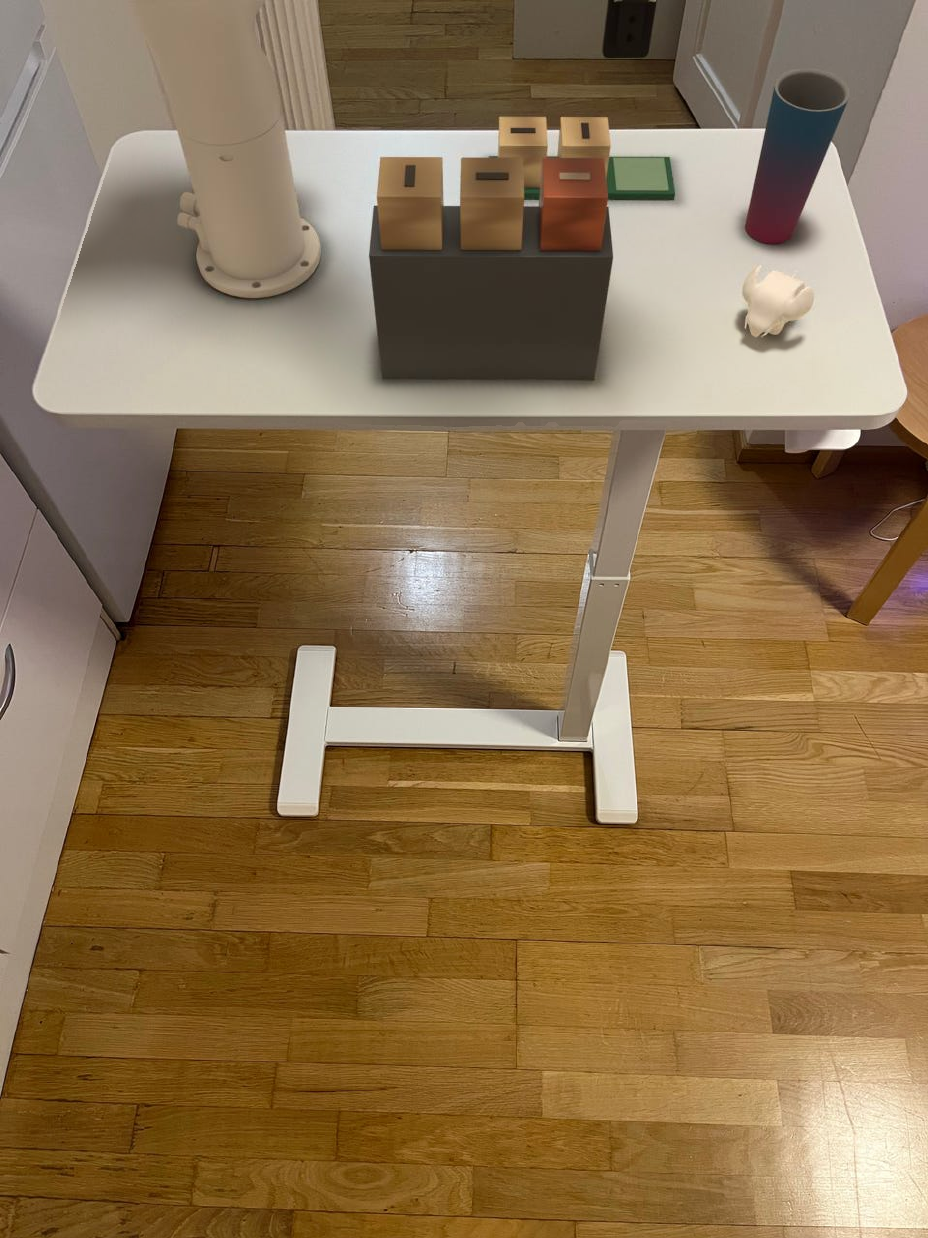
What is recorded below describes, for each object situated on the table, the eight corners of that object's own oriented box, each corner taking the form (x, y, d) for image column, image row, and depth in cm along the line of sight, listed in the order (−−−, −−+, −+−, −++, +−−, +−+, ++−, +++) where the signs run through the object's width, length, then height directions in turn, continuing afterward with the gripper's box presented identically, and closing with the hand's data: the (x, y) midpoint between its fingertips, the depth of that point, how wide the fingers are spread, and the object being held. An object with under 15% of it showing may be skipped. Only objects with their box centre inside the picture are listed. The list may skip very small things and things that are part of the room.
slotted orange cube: (539, 250, 80) (543, 195, 75) (538, 211, 82) (542, 155, 78) (600, 251, 80) (608, 196, 75) (597, 211, 82) (604, 156, 78)
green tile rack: (488, 198, 105) (489, 148, 100) (488, 162, 108) (489, 111, 103) (674, 199, 105) (684, 149, 100) (668, 162, 108) (678, 112, 103)
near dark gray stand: (382, 378, 92) (362, 200, 75) (385, 330, 95) (368, 149, 78) (594, 380, 91) (621, 202, 75) (590, 331, 95) (616, 150, 78)
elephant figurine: (716, 333, 94) (730, 284, 89) (755, 287, 98) (771, 238, 93) (779, 363, 92) (797, 315, 87) (816, 315, 96) (836, 266, 91)
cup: (801, 253, 100) (849, 114, 87) (734, 245, 101) (773, 106, 88) (802, 211, 104) (850, 72, 91) (738, 203, 104) (776, 64, 91)
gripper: (581, -345, 60) (559, -44, 75) (605, -228, 52) (574, 87, 66) (702, -346, 60) (656, -45, 75) (747, -229, 52) (684, 86, 66)
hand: (618, 17), depth 71 cm, fingers open, 9 cm apart
